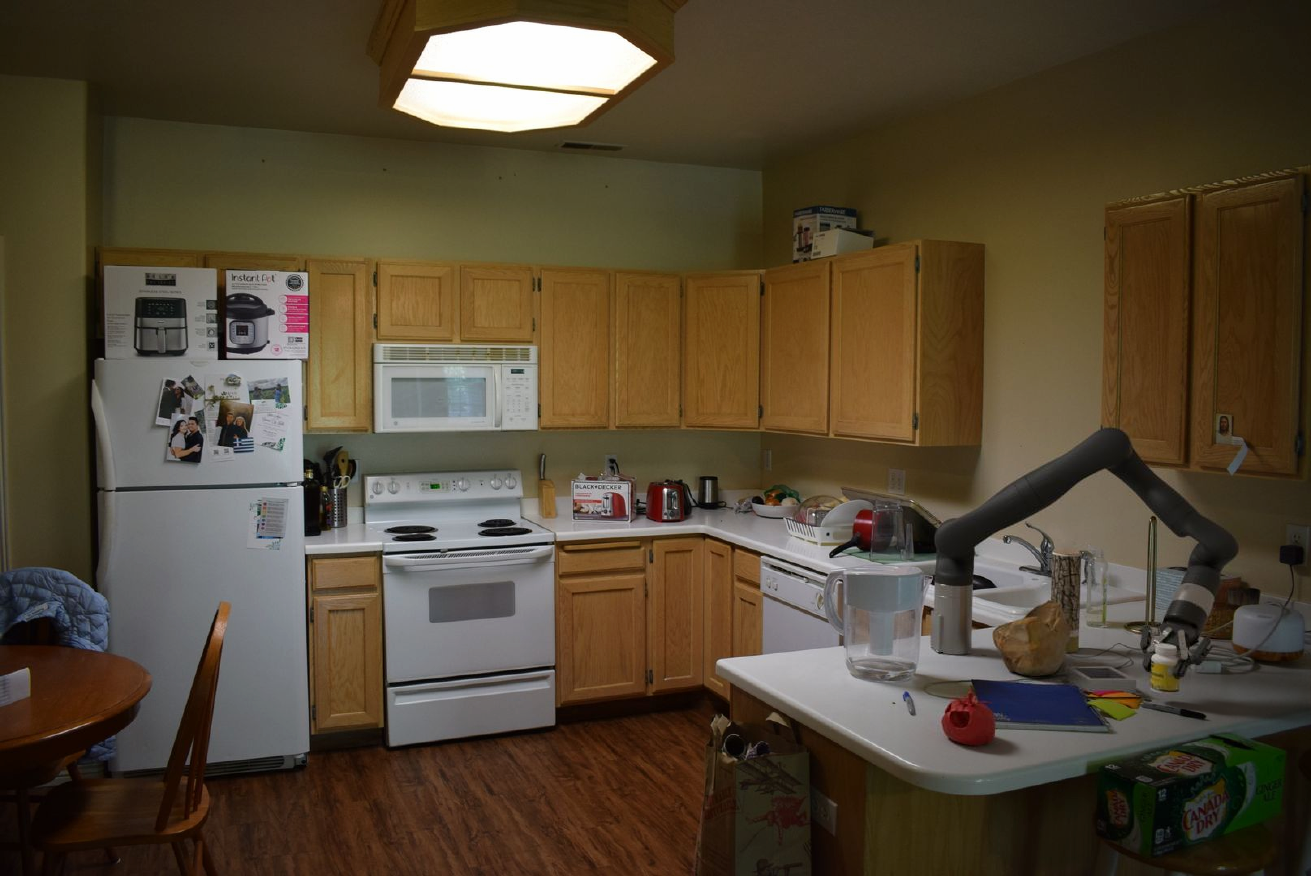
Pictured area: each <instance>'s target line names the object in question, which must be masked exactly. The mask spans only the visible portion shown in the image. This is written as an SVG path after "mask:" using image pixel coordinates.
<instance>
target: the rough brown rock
mask: <svg viewBox="0 0 1311 876" xmlns="http://www.w3.org/2000/svg"><path fill="white" fill-rule="evenodd" d="M992 641H993V643H994V646H995V647H996V649H997V651H999V653H1000V655H1001V658H1002V661H1003V664H1004V666H1005V667H1006V669H1008V671H1009V672H1010V673H1012V672H1015V673H1017V674H1018V675H1023V676H1028V675H1029V677H1037V676H1038V677H1039V676H1040V677H1041V676H1046V675H1052V674H1054V673H1056V671H1058V670H1059V669H1060V666H1062V664H1063V663H1064V661H1065V660H1066V658H1067V652H1066V645H1067V644H1068V643H1069V641H1070V629H1069V626H1068V623H1067V621H1066V618H1065V615H1064V612H1063V609H1062V606H1061V605H1060V604H1059V603H1055V602H1053V601H1052V600H1051V599H1049V600H1047V601H1046V602H1044V603H1042V604H1038V605H1037V606H1035V607H1034V608H1033V609H1031V610H1030V611H1029V612H1027V613H1026V615H1025V616H1024V617H1023V618H1021V619H1016V620H1013V621H1011V622H1010V621H1009V622H1005V623H1004V624H1001V625H998V626H997V627H995V628H994V630H993V631H992Z"/></svg>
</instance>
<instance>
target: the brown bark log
mask: <svg viewBox="0 0 1311 876" xmlns="http://www.w3.org/2000/svg"><path fill="white" fill-rule="evenodd" d="M1051 555H1052V556H1051V581H1050V582H1051V585H1050V586H1051V588H1050V591H1051V592H1050V600H1052V601H1053V602H1055V603H1059V604H1060V605H1061V606H1062V609H1063V612H1064V615H1065V618H1066V621H1067V623H1068V626H1069V629H1070V641H1069V643H1068V644H1067V645H1066V654H1067V653H1068V654H1069V653H1076V652H1078V650H1079V644H1080V642H1079V641H1080V620H1081V617H1080V614H1081V613H1080V611H1081V580H1082V579H1081V578H1082V577H1081V576H1082V553H1081V551H1076V550H1067V549H1066V550H1065V549H1055V550H1052V553H1051Z"/></svg>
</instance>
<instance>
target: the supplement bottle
mask: <svg viewBox="0 0 1311 876" xmlns="http://www.w3.org/2000/svg"><path fill="white" fill-rule="evenodd" d="M1155 651H1156V654H1154V655H1153V656H1152V658H1151V671H1150V685H1149V687H1150V688H1149V689H1150V690H1151V691H1152V692H1154V693H1155V694H1159V695H1166V696H1176V695H1178V694H1179V693H1180V679H1175V677H1174V675H1173V672H1174V670H1175V667H1176V665H1177V663H1178V660H1179V659H1180V658H1179V657H1178V656H1176V655H1177V653H1178V651H1177V647H1176V646H1174V645H1170V644H1163V643H1162V644H1156V645H1155Z"/></svg>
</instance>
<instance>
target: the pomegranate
mask: <svg viewBox="0 0 1311 876" xmlns="http://www.w3.org/2000/svg"><path fill="white" fill-rule="evenodd" d="M960 697H962V698H963V699H961V698H959V697H957V696H956V697H954V696H953V697H951V699H954V700H952V701H950V702H949V704H947V706H946V708H945V709H944V715H943V716H942V717H941V721H940V723H941V727H942V730H943V733H944V735H945V736H946V737H948V739H950V740H952V741H954V742H956V743H958V744H961V745H962V744H963V745H967V746H974V745H975V746H977V745H979V746H981V745H986V744H990V743H991V742H992V741H993V740H994V739H995V736H996V715H995V714H994V712H993V711H992V709H991V708H989V707H988V706H987V705H986V704H993V703H994V702H989V701H986V700H984V701H983V700H982V701H975V699H976V698H979V697H978V696H977V695H976V694H975V695H974V691H972V690H969V691H968V692H967V697H966V696H965V695H964V694H961V695H960ZM984 703H986V704H984ZM980 744H981V745H980ZM975 746H974V747H975ZM977 747H978V746H977Z"/></svg>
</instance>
